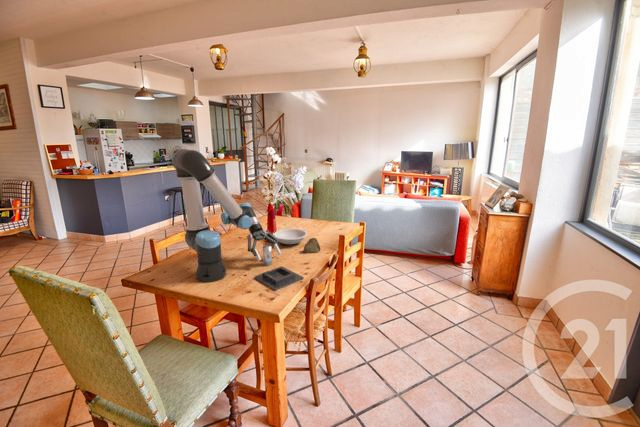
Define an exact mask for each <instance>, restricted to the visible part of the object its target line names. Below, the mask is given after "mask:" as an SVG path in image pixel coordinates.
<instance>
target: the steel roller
mask: <svg viewBox="0 0 640 427" xmlns="http://www.w3.org/2000/svg"><path fill="white" fill-rule="evenodd" d="M262 257H263V262H262V263H263V264H262V265H263V266H264V267H270V266H272V265H273V247H272V245H271V244H264V245H263V246H262Z"/></svg>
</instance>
